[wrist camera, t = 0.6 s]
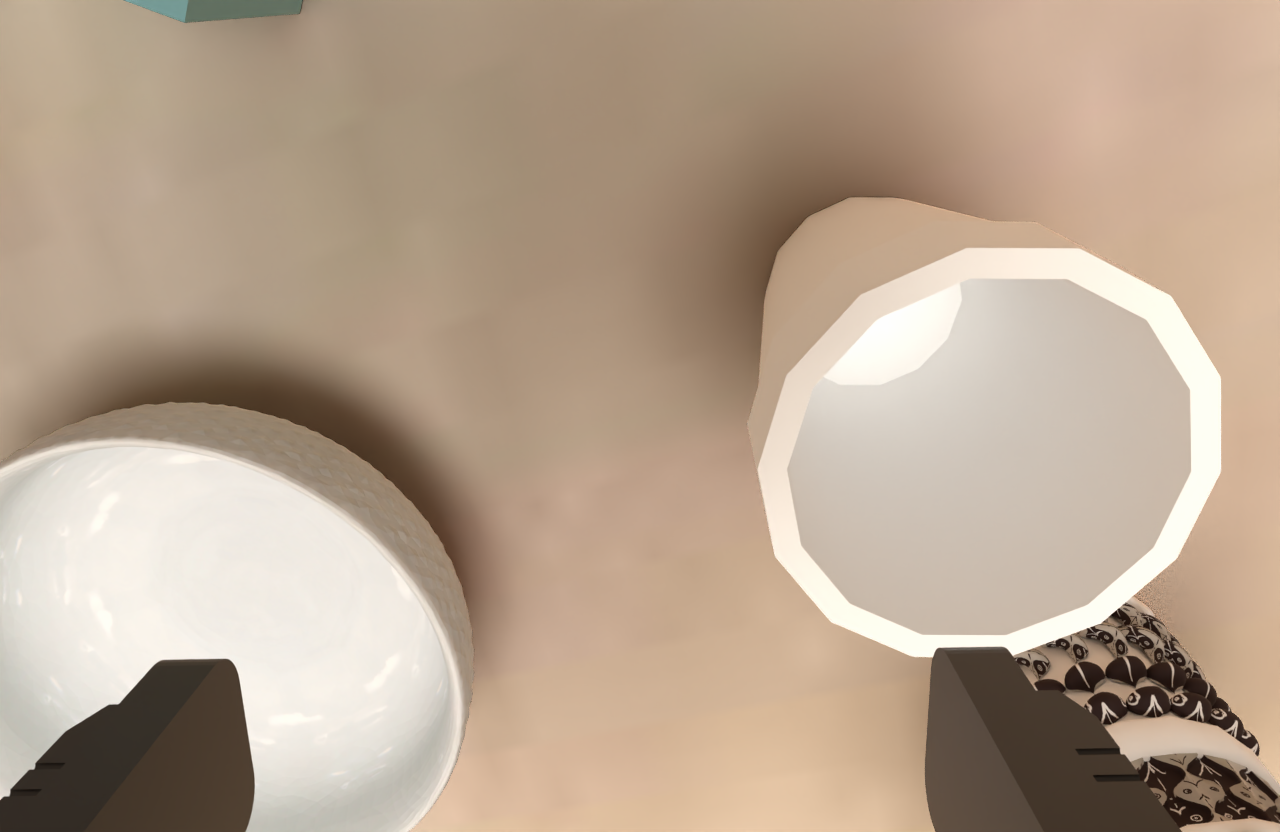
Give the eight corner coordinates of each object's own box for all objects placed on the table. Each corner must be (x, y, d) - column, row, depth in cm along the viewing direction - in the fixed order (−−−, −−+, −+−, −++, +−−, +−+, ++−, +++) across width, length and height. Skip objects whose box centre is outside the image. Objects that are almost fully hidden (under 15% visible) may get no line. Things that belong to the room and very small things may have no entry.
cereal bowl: (-68, 515, 36) (-225, 631, 30) (275, 253, 32) (182, 320, 26) (260, 815, 42) (188, 969, 35) (587, 620, 38) (575, 752, 31)
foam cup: (712, 423, 35) (747, 656, 23) (721, 146, 31) (769, 246, 19) (990, 425, 35) (1173, 658, 23) (1032, 147, 31) (1277, 249, 19)
